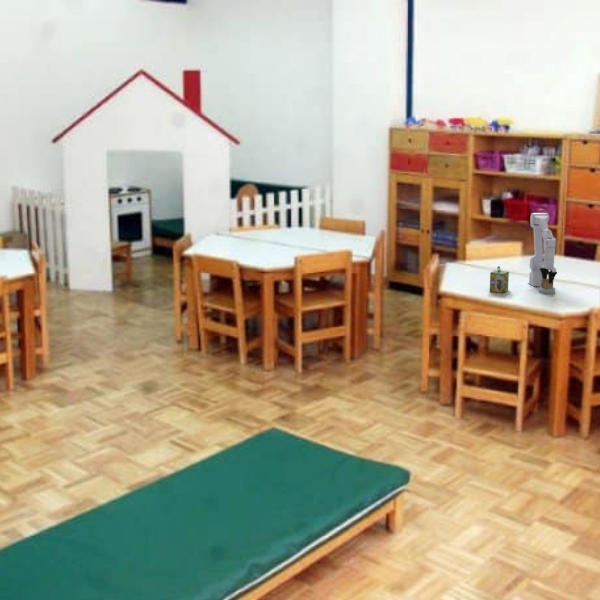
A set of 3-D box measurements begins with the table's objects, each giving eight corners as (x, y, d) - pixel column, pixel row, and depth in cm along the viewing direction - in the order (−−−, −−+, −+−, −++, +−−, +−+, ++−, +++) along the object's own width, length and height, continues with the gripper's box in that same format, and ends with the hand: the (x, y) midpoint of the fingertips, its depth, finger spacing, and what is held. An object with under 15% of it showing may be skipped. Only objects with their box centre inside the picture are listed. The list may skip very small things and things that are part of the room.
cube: (541, 287, 521) (541, 279, 520) (548, 286, 522) (549, 278, 521) (545, 289, 516) (545, 280, 515) (552, 288, 517) (553, 280, 516)
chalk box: (504, 293, 518) (505, 268, 514) (488, 291, 522) (490, 267, 519) (508, 290, 526) (509, 265, 522) (493, 288, 530) (494, 264, 526)
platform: (536, 291, 523) (536, 286, 522) (549, 290, 525) (549, 285, 525) (544, 295, 514) (545, 290, 514) (557, 294, 517) (558, 289, 516)
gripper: (537, 256, 521) (535, 279, 524) (548, 261, 507) (547, 284, 510) (548, 256, 522) (546, 278, 526) (559, 261, 508) (558, 284, 512)
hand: (547, 281), depth 518 cm, fingers open, 7 cm apart
